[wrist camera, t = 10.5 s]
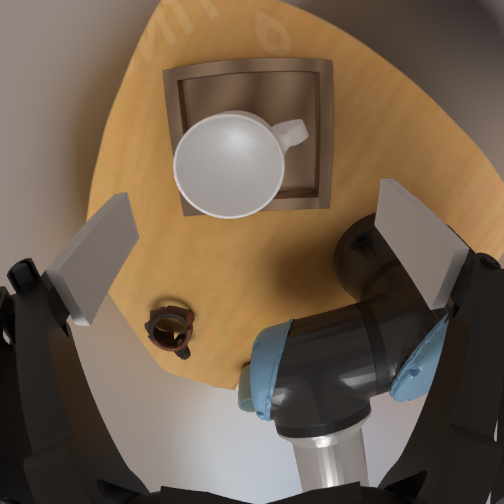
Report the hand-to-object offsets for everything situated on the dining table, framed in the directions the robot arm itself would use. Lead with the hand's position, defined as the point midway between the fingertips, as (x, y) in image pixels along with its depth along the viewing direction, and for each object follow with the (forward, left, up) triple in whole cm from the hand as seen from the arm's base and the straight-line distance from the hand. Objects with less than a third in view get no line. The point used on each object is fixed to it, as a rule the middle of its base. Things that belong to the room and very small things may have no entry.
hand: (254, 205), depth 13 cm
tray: (0, 0, -21) cm, 21 cm away
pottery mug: (+17, +32, -22) cm, 42 cm away
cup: (+2, +49, -22) cm, 53 cm away
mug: (+1, 0, -20) cm, 20 cm away
